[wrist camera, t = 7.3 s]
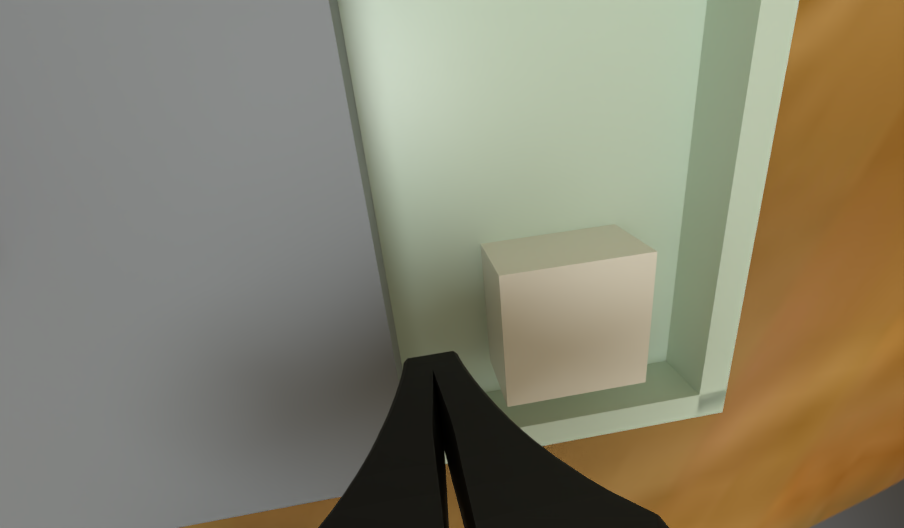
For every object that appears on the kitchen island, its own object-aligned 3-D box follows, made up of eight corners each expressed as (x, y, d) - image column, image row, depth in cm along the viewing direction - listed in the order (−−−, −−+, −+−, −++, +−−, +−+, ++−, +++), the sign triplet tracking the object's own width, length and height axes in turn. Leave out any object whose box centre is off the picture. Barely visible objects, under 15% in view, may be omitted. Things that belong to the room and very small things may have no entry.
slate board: (411, 417, 17) (416, 482, 14) (-36, 496, 16) (-125, 584, 13) (322, -95, 11) (300, -153, 8) (-447, -37, 9) (-794, -84, 7)
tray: (679, 369, 18) (722, 412, 16) (411, 417, 17) (416, 469, 15) (744, -126, 12) (831, -175, 9) (322, -95, 11) (305, -141, 8)
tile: (507, 406, 14) (490, 359, 16) (645, 382, 14) (609, 339, 16) (498, 275, 12) (480, 243, 14) (657, 251, 12) (614, 224, 15)
